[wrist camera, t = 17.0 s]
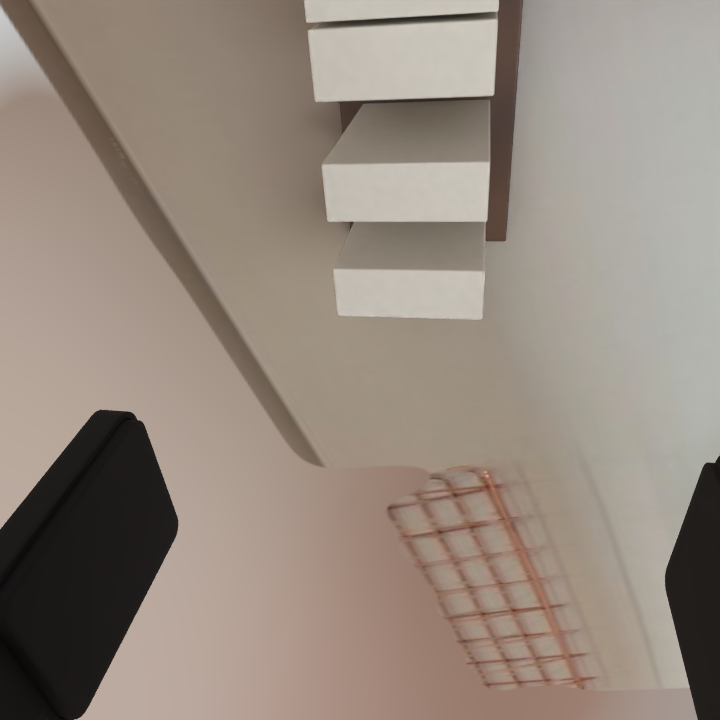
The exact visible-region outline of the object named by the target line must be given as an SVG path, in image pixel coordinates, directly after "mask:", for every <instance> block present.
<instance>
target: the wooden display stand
mask: <svg viewBox="0 0 720 720" xmlns="http://www.w3.org/2000/svg"><path fill="white" fill-rule="evenodd" d="M522 6H523V0H304V7H305V16H306V22H307V23H316V22H321V23H319V24H317V25H316V26H314V27H312V28H311V29H309V30H308V32H307V33H308V42H309V52H310V61H311V71H312V80H313V90H314V99H315V102H339V101H340V111H341V123H342V134H343V133H344V131H345V130H346V129H347V127H348V126H349V124H350V123H351V121H352V120H353V118H354V117H355V115H356V114H357V112H358V111H359V110H360V108H361V107H362V105H363V104H369V103H398V102H427V101H457V100H486V99H488V100H490V179H489V199H488V218H487V221H486V222H350V232H349V234H348V236H347V239H346V241H345V243H344V245H343V248H342V250H341V252H340V254H339V256H338V259H337V261H336V263H335V265H334V268H333V279H334V288H335V298H336V307H337V314H338V316H364V317H399V318H433V319H468V320H482V318H483V300H484V281H485V241H505V240H506V230H507V216H508V202H509V188H510V174H511V160H512V146H513V132H514V118H515V104H516V90H517V76H518V62H519V48H520V34H521V20H522Z"/></svg>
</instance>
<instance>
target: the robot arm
mask: <svg viewBox="0 0 720 720" xmlns="http://www.w3.org/2000/svg"><path fill="white" fill-rule="evenodd" d="M177 530H178V518H177V515H176V512H175V509H174V506H173V504H172V501H171V498H170V495H169V492H168V490H167V487H166V484H165V481H164V478H163V476H162V473H161V470H160V467H159V465H158V462H157V459H156V456H155V453H154V450H153V448H152V445H151V442H150V439H149V437H148V434H147V431H146V428H145V426H144V424H143V422H141V421H138V420H137V418H136V417H135V415H134V414H133V413H131V412H124V411H109V410H99V411H97V412H95V413H94V414H93V415H92V416H91V417H90V419H89V420H88V421H87V422H86V424H85V425H84V426H83V427H82V429H81V430H80V431H79V432H78V434H77V435H76V436H75V437H74V438H73V440H72V441H71V442H70V444H69V445H68V446H67V447H66V448H65V450H64V451H63V452H62V454H61V455H60V456H59V457H58V458H57V460H56V461H55V462H54V463H53V465H52V466H51V467H50V468H49V470H48V471H47V472H46V473H45V475H44V476H43V477H42V478H41V480H40V481H39V482H38V483H37V484H36V486H35V487H34V488H33V490H32V491H31V492H30V493H29V495H28V496H27V497H26V499H25V500H24V501H23V502H22V503H21V504H20V506H19V507H18V508H17V509H16V511H15V512H14V513H13V514H12V516H11V517H10V518H9V519H8V521H7V522H6V523H5V524H4V526H3V527H2V528H1V529H0V720H74V719H78V718H80V717H81V716H82V715H83V714H84V713H85V711H86V710H87V708H88V706H89V705H90V703H91V701H92V699H93V697H94V695H95V693H96V691H97V689H98V687H99V685H100V683H101V681H102V679H103V677H104V675H105V673H106V672H107V670H108V668H109V666H110V664H111V662H112V660H113V658H114V656H115V654H116V652H117V650H118V648H119V646H120V644H121V642H122V640H123V638H124V636H125V634H126V633H127V631H128V629H129V627H130V625H131V623H132V621H133V619H134V617H135V615H136V613H137V611H138V609H139V607H140V605H141V603H142V602H143V600H144V598H145V596H146V594H147V591H148V590H149V588H150V586H151V584H152V582H153V580H154V578H155V576H156V574H157V572H158V570H159V569H160V566H161V565H162V563H163V561H164V558H165V557H166V555H167V553H168V551H169V549H170V547H171V545H172V543H173V541H174V539H175V537H176V534H177ZM665 587H666V593H667V597H668V601H669V605H670V609H671V613H672V617H673V621H674V625H675V630H676V634H677V638H678V642H679V646H680V650H681V654H682V658H683V662H684V666H685V670H686V674H687V678H688V682H689V686H690V690H691V693H692V698H693V702H694V706H695V710H696V714H697V718H698V720H720V456H719V457H718V458H717V460H716V462H715V463H706V464H705V465H704V467H703V469H702V471H701V474H700V477H699V480H698V482H697V485H696V488H695V491H694V494H693V496H692V499H691V502H690V505H689V507H688V510H687V513H686V516H685V519H684V521H683V524H682V527H681V530H680V532H679V535H678V538H677V541H676V543H675V546H674V549H673V552H672V555H671V557H670V560H669V563H668V566H667V569H666V574H665Z"/></svg>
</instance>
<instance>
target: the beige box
mask: <svg viewBox="0 0 720 720" xmlns="http://www.w3.org/2000/svg"><path fill="white" fill-rule="evenodd" d="M321 168H322V177H323V187H324V196H325V205H326V215H327V221H328V222H486V221H487V218H488V199H489V179H490V100H488V99H486V100H457V101H427V102H398V103H369V104H363V105H362V107H361V108H360V110H359V111H358V112H357V114H356V115H355V117H354V118H353V120H352V121H351V123H350V124H349V126H348V127H347V129H346V130H345V131H344V133H343V134H342V136H341V137H340V139H339V140H338V142H337V143H336V145H335V146H334V147H333V149H332V150H331V152H330V153H329V155H328V156H327V158H326V159H325V161H324V162H323V164H322V166H321Z"/></svg>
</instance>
